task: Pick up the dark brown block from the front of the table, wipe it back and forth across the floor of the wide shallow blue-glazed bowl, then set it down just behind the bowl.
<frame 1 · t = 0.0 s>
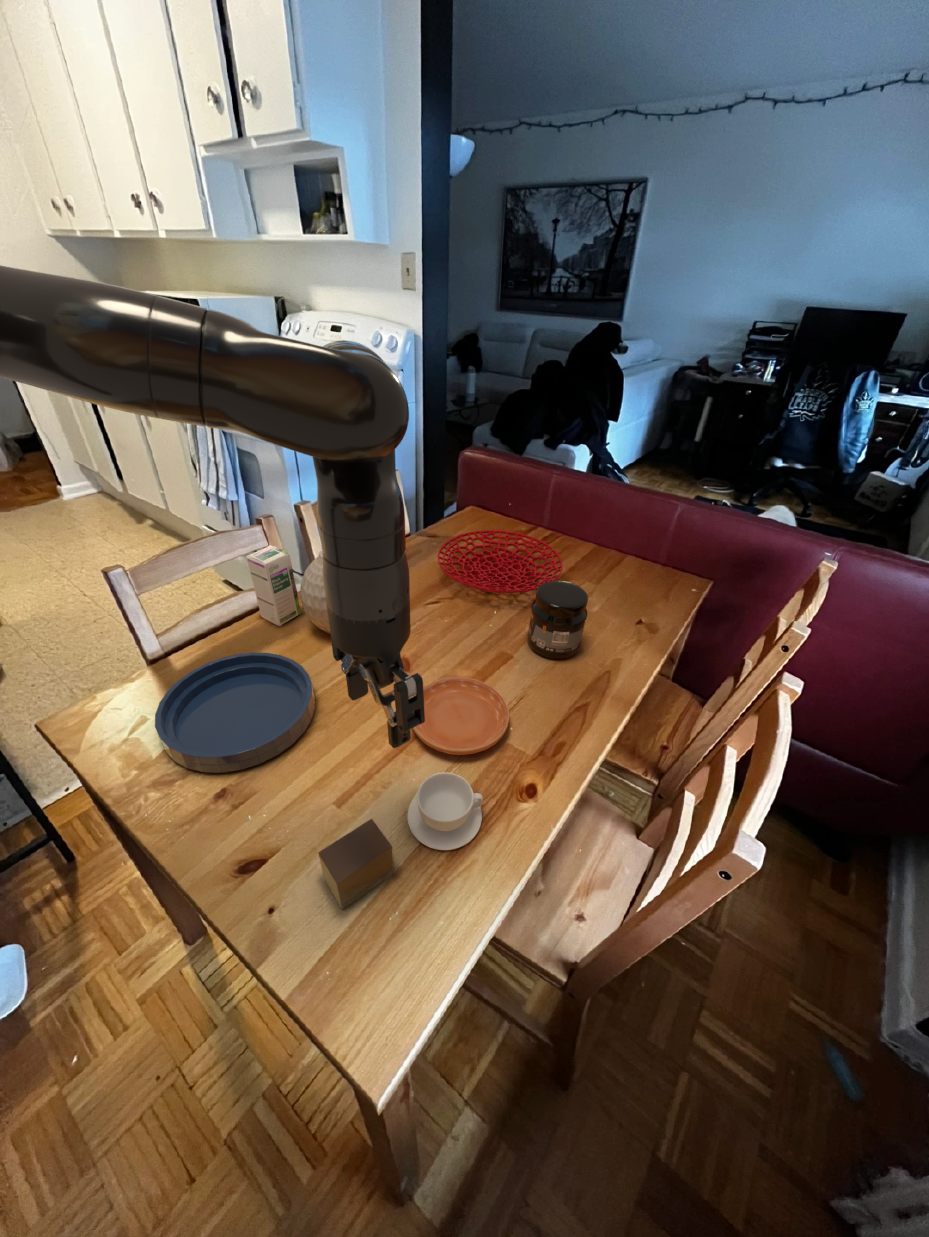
hand: (378, 718, 55), 20 cm above the table, tool pointing down, fingers open, 8 cm apart
supplement container: (552, 645, 99), on the table
teacup: (444, 817, 67), on the table
vase: (339, 626, 101), on the table
bowl: (498, 576, 120), on the table
syrup box: (281, 616, 103), on the table
dark brown block: (359, 875, 60), on the table
glazed bowl: (242, 716, 80), on the table
saucer: (458, 723, 81), on the table
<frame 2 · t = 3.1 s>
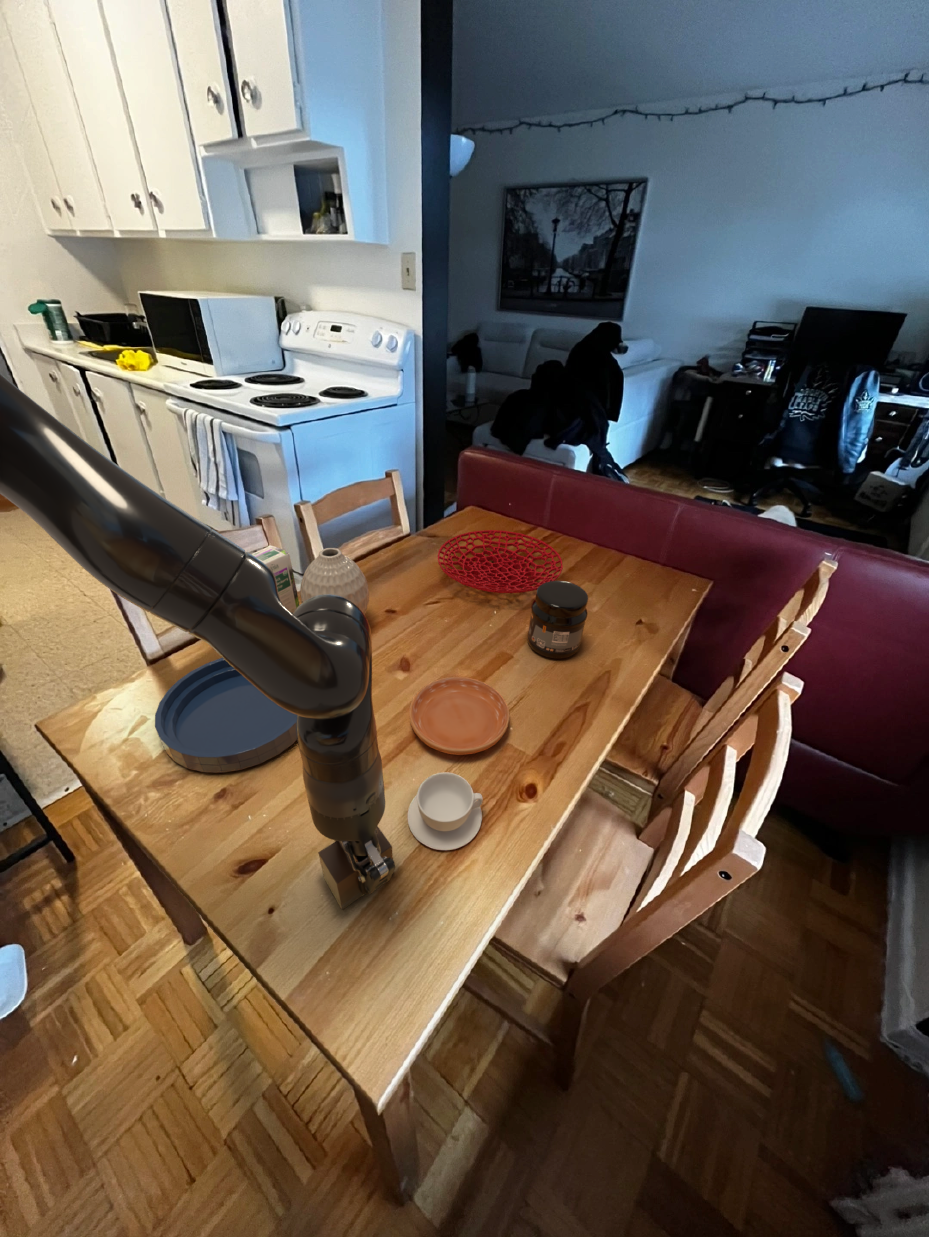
hand: (358, 870, 59), 1 cm above the table, tool pointing down, fingers closed on dark brown block, 4 cm apart
dark brown block: (359, 875, 60), on the table, touching gripper
everything else where it was.
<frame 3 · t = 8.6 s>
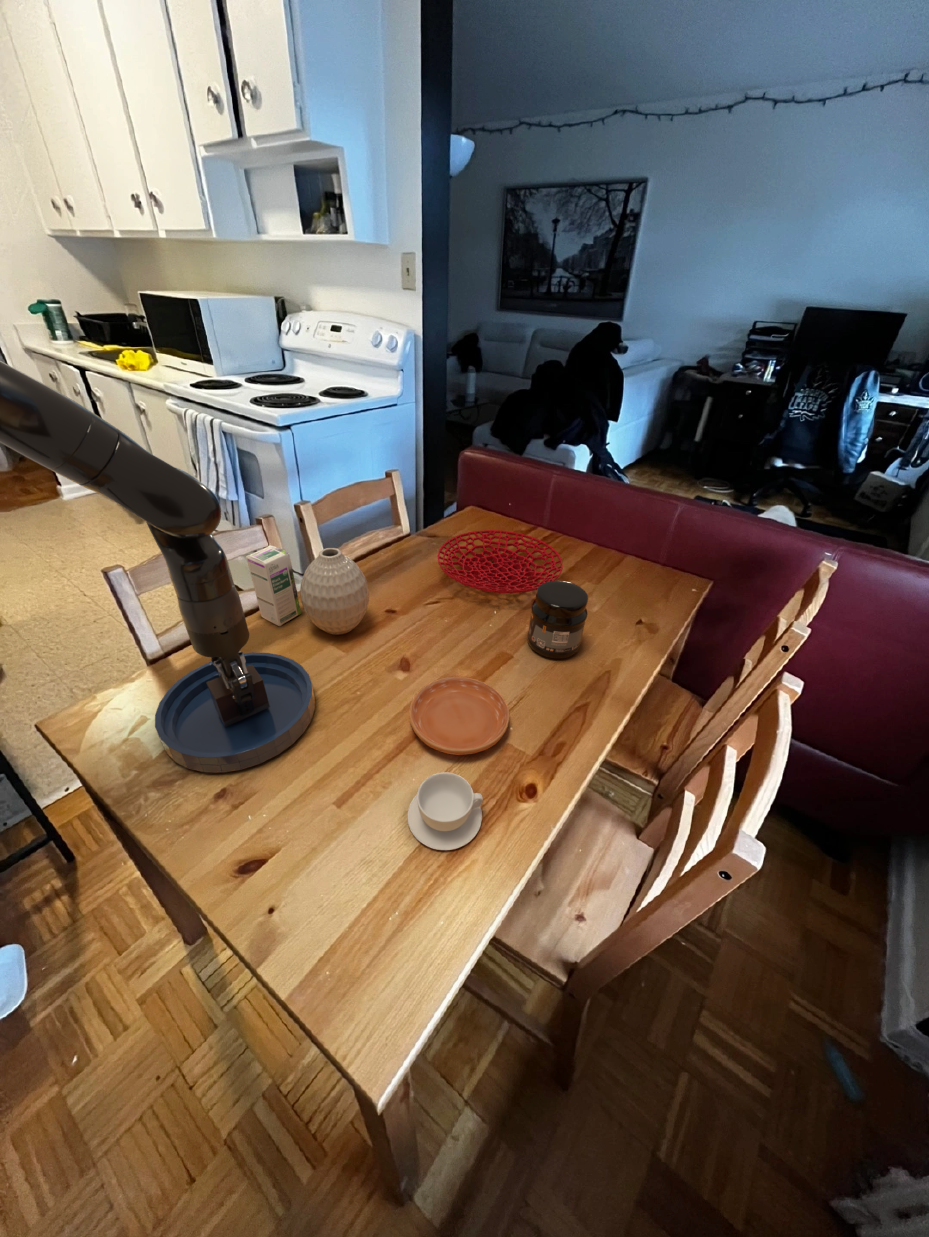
hand: (241, 702, 79), 3 cm above the table, tool pointing down, fingers closed on dark brown block, 4 cm apart
dark brown block: (243, 708, 79), point 1 cm above the table, touching gripper
everything else where it was.
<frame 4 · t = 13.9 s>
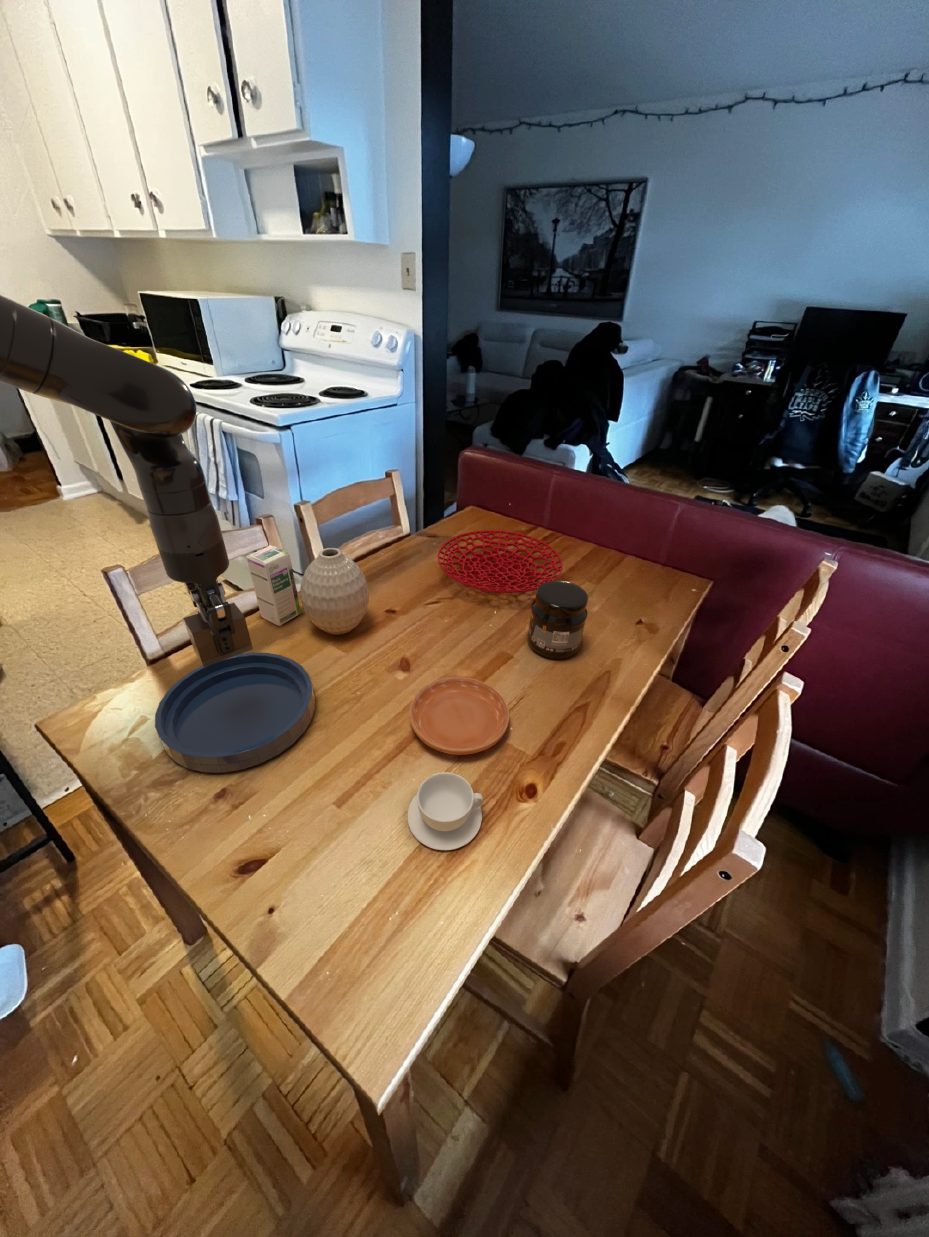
hand: (221, 643, 73), 14 cm above the table, tool pointing down, fingers closed on dark brown block, 4 cm apart
dark brown block: (223, 650, 74), point 13 cm above the table, touching gripper
everything else where it was.
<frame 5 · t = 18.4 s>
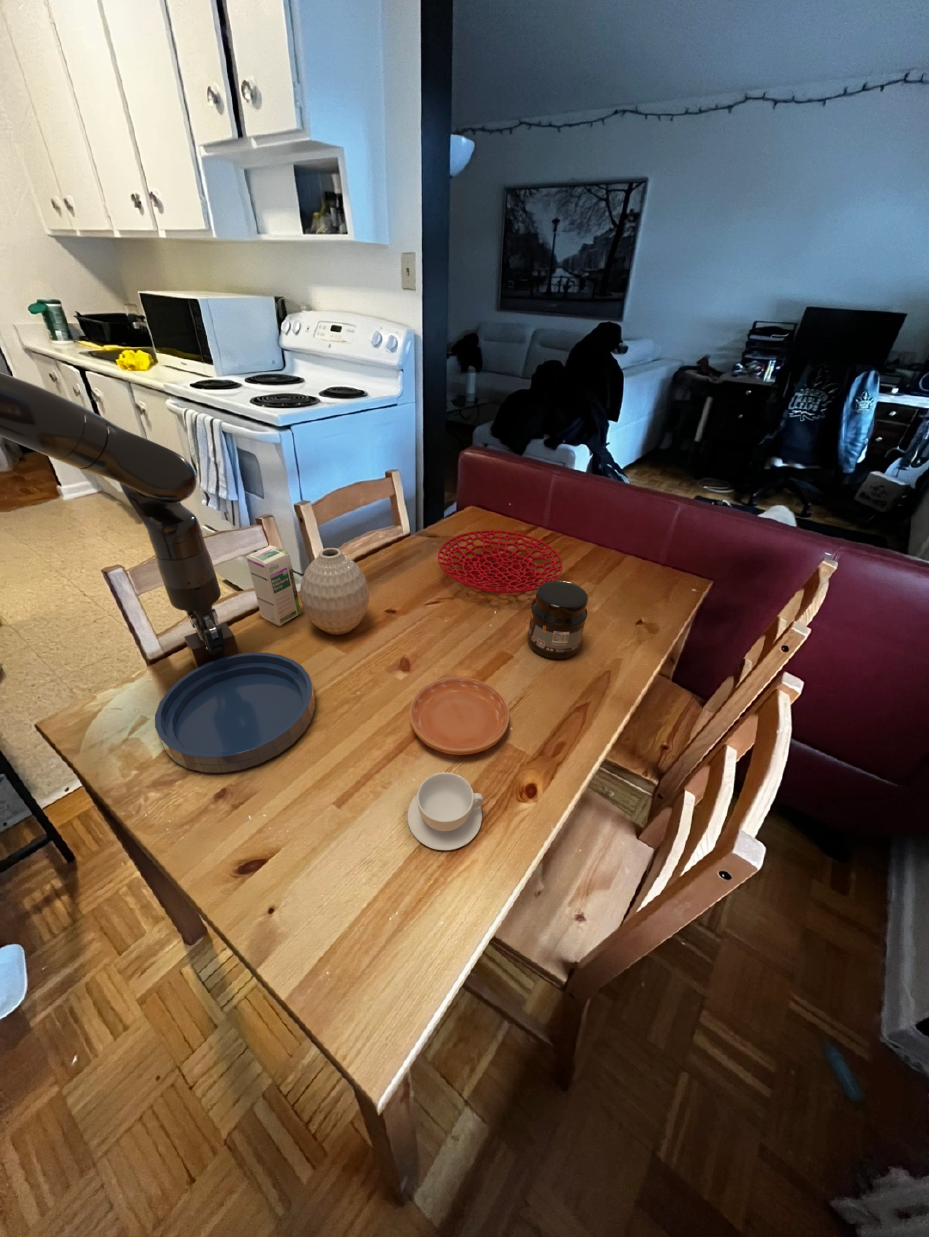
hand: (215, 656, 89), 2 cm above the table, tool pointing down, fingers closed on dark brown block, 4 cm apart
dark brown block: (217, 661, 90), on the table, touching gripper
everything else where it was.
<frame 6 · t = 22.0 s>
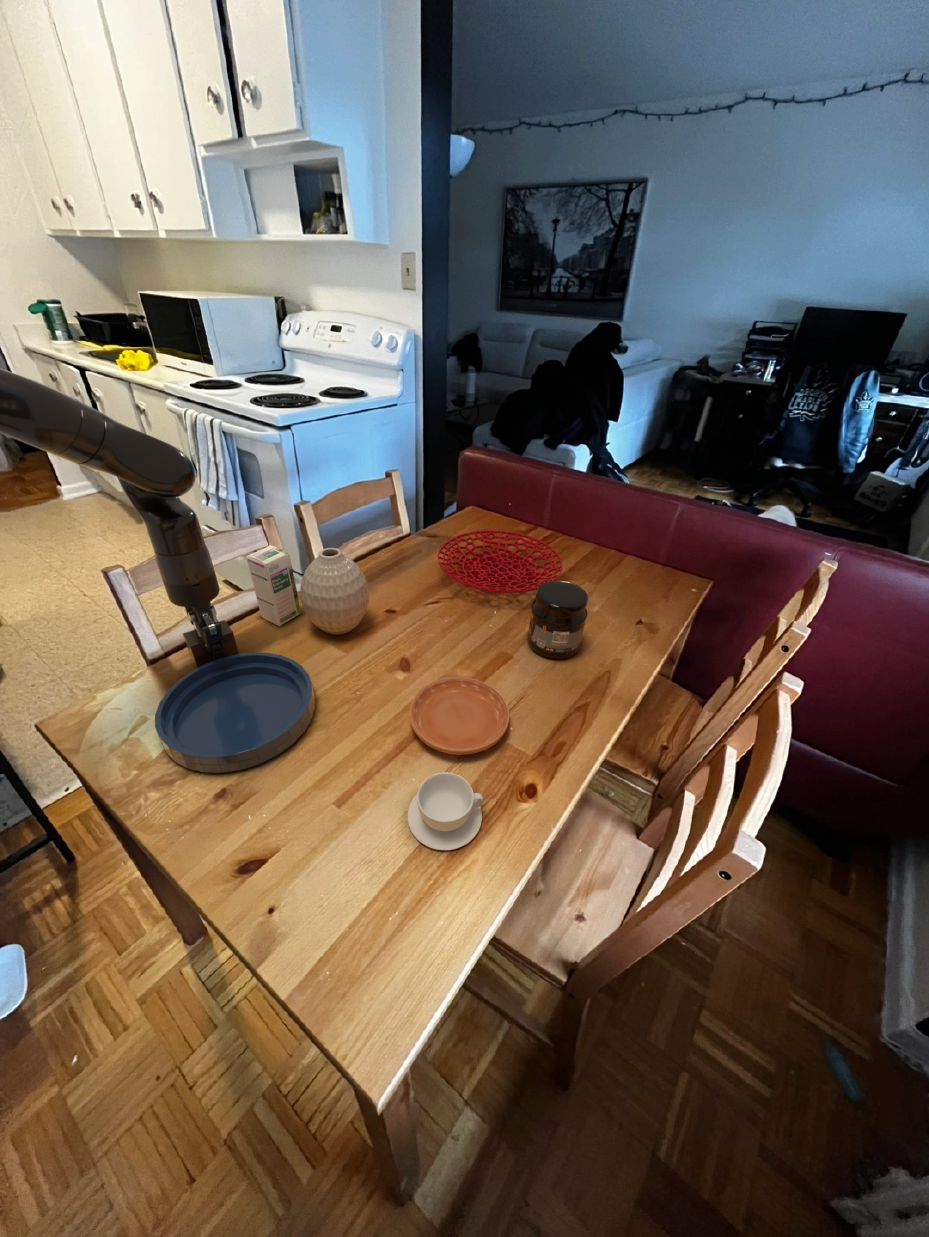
hand: (214, 653, 89), 2 cm above the table, tool pointing down, fingers closed on dark brown block, 4 cm apart
dark brown block: (216, 659, 89), point 1 cm above the table, touching gripper
everything else where it was.
when the fingers open (2 cm above the table, at t = 25.2 s): dark brown block drops 1 cm, on the table.
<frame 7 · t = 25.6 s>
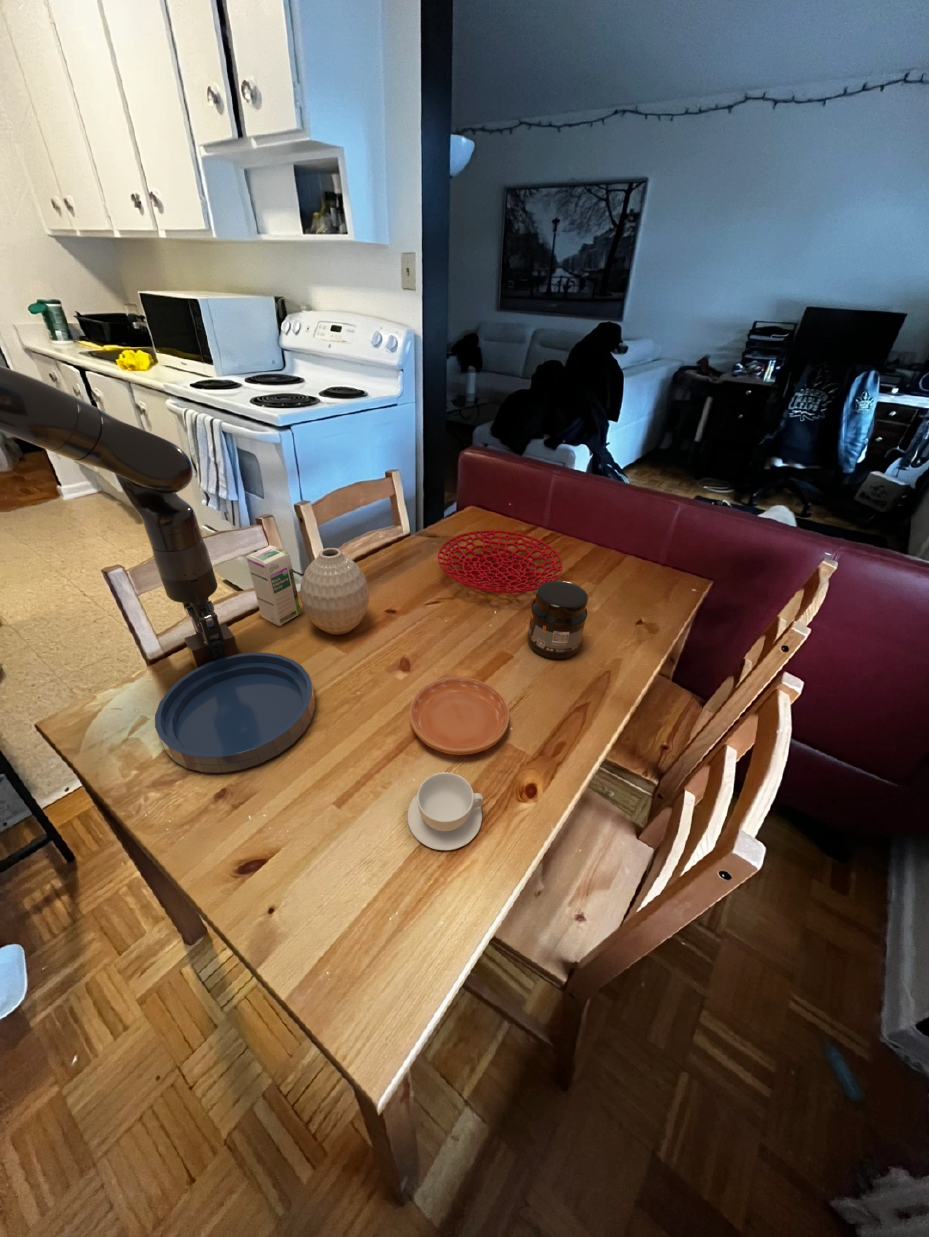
hand: (210, 645, 88), 4 cm above the table, tool pointing down, fingers open, 8 cm apart
dark brown block: (217, 663, 90), on the table
everything else where it was.
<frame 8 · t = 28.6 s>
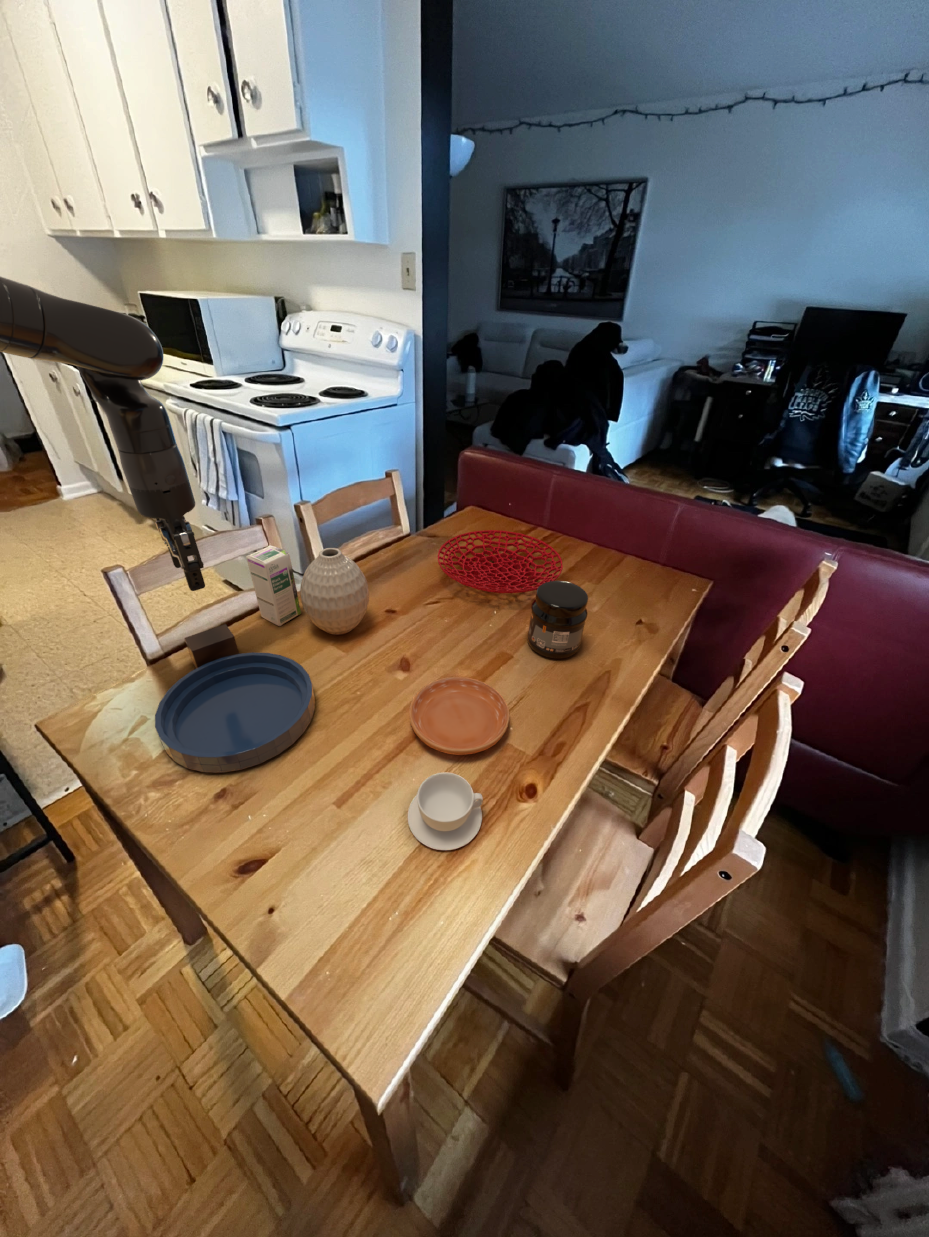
hand: (189, 577, 80), 18 cm above the table, tool pointing down, fingers open, 8 cm apart
nothing on the table moved.
at the end: dark brown block inside the target area on the table beside the glazed bowl (0.6 cm from its centre), on the table; dark brown block tilted 0°; the gripper is holding nothing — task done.
